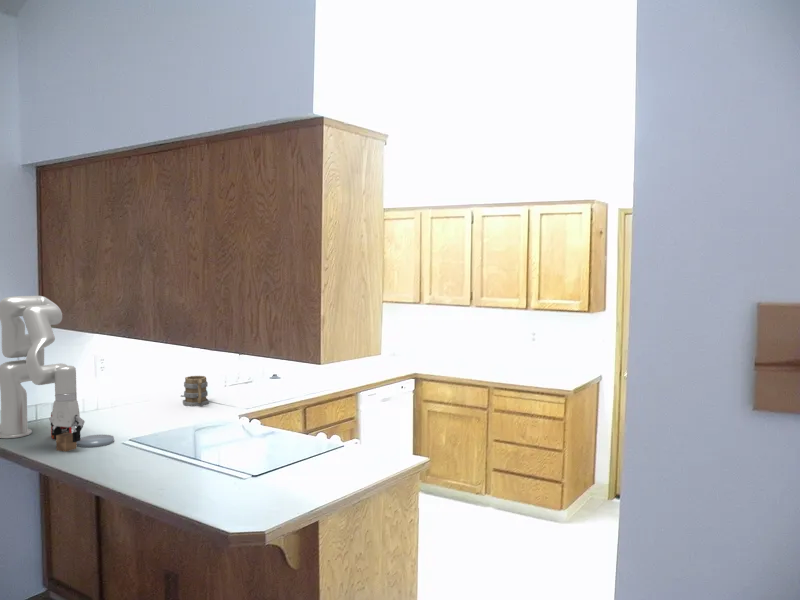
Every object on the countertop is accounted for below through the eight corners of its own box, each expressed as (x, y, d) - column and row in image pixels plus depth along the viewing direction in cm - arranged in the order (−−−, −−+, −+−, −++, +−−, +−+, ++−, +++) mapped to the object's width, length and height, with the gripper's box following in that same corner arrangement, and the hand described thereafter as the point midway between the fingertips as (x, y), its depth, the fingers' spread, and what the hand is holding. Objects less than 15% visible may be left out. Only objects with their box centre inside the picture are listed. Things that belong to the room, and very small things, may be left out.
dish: (68, 445, 260) (68, 441, 260) (95, 436, 273) (95, 433, 273) (94, 449, 255) (94, 445, 255) (121, 440, 268) (121, 436, 268)
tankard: (181, 402, 342) (181, 374, 341) (206, 400, 347) (206, 372, 346) (186, 410, 324) (186, 380, 323) (212, 408, 329) (212, 379, 328)
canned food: (49, 440, 267) (48, 414, 266) (53, 435, 274) (53, 409, 274) (69, 439, 269) (69, 413, 268) (73, 434, 276) (73, 409, 276)
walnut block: (56, 450, 253) (56, 435, 253) (66, 447, 258) (66, 432, 258) (65, 451, 251) (65, 436, 251) (76, 448, 256) (76, 433, 256)
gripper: (41, 397, 253) (42, 440, 254) (74, 400, 247) (76, 444, 248) (57, 394, 260) (58, 436, 261) (90, 397, 254) (91, 439, 255)
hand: (67, 440), depth 254 cm, fingers open, 9 cm apart
